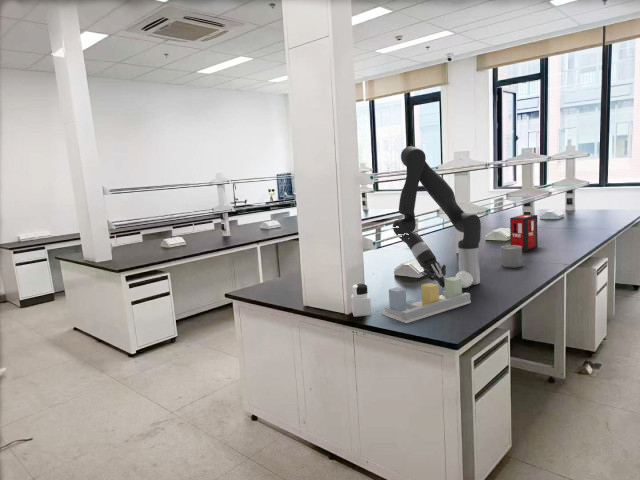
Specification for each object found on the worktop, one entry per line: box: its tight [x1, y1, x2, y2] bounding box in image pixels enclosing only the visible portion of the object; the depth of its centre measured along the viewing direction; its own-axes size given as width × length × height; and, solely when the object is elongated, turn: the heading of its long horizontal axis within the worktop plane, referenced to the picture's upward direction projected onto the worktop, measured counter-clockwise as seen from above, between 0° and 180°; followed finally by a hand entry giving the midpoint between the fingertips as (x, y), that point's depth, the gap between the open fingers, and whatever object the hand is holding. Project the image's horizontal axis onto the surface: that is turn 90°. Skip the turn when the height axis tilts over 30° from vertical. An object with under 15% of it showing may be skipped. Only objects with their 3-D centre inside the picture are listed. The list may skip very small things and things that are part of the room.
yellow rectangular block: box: [420, 282, 440, 306], centre depth 181 cm, size 5×4×9 cm
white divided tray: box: [381, 290, 472, 324], centre depth 184 cm, size 14×35×4 cm, turn 121°
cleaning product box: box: [509, 214, 538, 252], centre depth 281 cm, size 16×9×20 cm, turn 130°
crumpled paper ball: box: [454, 271, 473, 289], centre depth 209 cm, size 8×8×8 cm
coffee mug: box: [501, 244, 523, 268], centre depth 243 cm, size 13×10×10 cm
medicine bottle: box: [350, 283, 372, 318], centre depth 184 cm, size 7×7×12 cm
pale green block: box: [444, 276, 463, 299], centre depth 188 cm, size 5×4×9 cm
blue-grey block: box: [388, 286, 408, 312], centre depth 179 cm, size 5×4×9 cm
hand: (445, 286), depth 192 cm, fingers closed
